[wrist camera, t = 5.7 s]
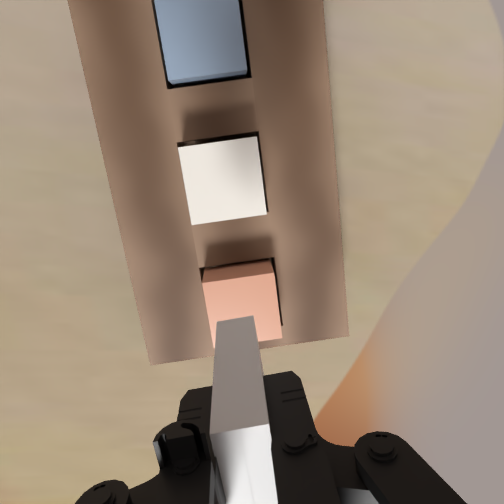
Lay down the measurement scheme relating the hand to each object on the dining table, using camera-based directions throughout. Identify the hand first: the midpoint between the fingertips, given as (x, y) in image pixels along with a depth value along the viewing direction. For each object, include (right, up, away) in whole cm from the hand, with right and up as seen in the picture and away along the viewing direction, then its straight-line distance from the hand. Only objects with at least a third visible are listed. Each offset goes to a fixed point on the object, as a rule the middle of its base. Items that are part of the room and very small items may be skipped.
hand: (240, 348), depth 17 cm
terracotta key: (0, +1, +12) cm, 12 cm away
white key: (-1, +9, +9) cm, 13 cm away
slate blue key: (-2, +17, +8) cm, 19 cm away
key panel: (-2, +10, +14) cm, 17 cm away
